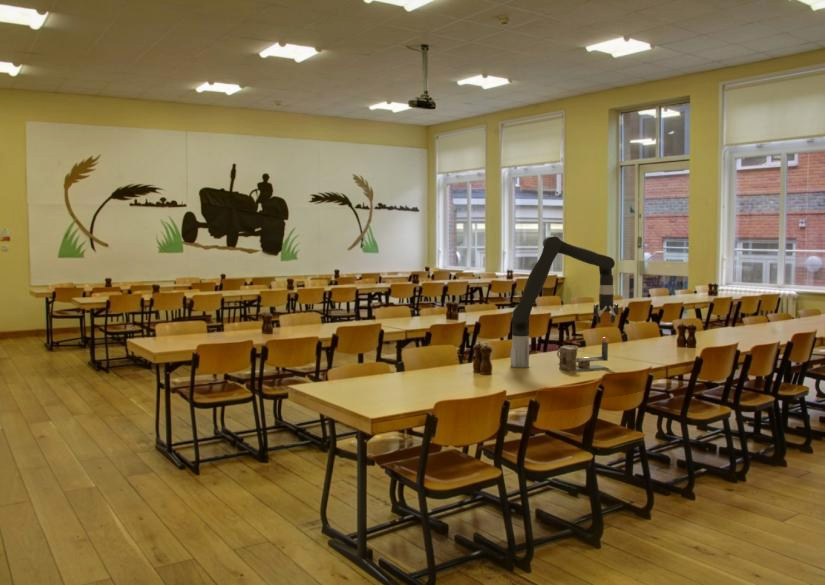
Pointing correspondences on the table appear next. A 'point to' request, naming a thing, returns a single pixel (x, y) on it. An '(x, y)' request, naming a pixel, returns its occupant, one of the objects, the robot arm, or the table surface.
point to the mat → (592, 367)
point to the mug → (568, 346)
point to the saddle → (584, 364)
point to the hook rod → (604, 353)
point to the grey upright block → (567, 358)
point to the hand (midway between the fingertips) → (605, 322)
